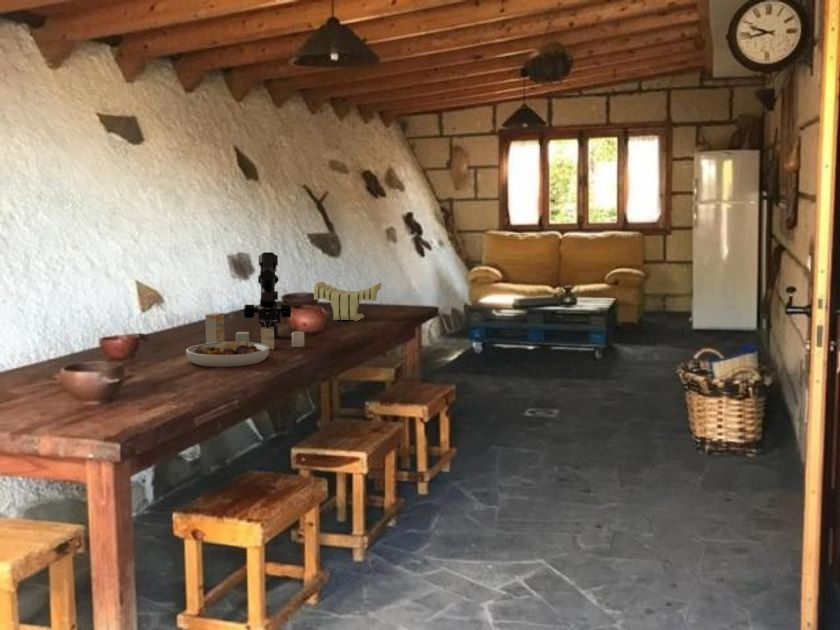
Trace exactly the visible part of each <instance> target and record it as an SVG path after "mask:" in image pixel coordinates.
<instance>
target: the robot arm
mask: <svg viewBox="0 0 840 630" xmlns="http://www.w3.org/2000/svg"><path fill="white" fill-rule="evenodd" d="M278 257H279V256H278V255H277V254H275V253H274V252H272V251H269V252H264V251H263V252H262V253H261V254H260V255H258V266H259V267H260V268H259V269H260V271H259V275H258V277H257V281H258V284H259V285H260V299H259V306H257V308H255V305H254V304H244V306H243V315H244V318H246V319H254V318H255V314H258V324H260V328H261V327H266V328H269V327H274V339H275V338H277V337H279V326H278V324H279V323H281V317H282V318H283V319H284V318H291V317H292V305H291V304H290V303H286V304H285V303H282V304H280V307H279V306H278V304H277V301H278V300H279V291H276V288H275V287H276V284H278V282H279V277H278V275H277V274H276V272H277V266H279V261H278V260H279V258H278ZM259 338H260V339H261V335H260V336H259Z"/></svg>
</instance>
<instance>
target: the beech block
mask: <svg viewBox="0 0 840 630" xmlns="http://www.w3.org/2000/svg"><path fill="white" fill-rule="evenodd" d="M260 336H261V338H260V344H265V345H267V346H269V350H274V349H275V338H274V327H269V328H266V327H261V326H260Z"/></svg>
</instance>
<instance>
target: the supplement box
mask: <svg viewBox="0 0 840 630" xmlns="http://www.w3.org/2000/svg"><path fill="white" fill-rule="evenodd" d="M204 318H205V319H204V320H205V344H207V343H217V342H225V312H213V313H208V314H206V315H205V317H204Z"/></svg>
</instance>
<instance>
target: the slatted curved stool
mask: <svg viewBox="0 0 840 630" xmlns="http://www.w3.org/2000/svg"><path fill="white" fill-rule="evenodd" d="M381 289H382V282H379V283H376V284H375V285H373V286H371V287H368V288H366V289H362V290H356V291H353V290H352V291H351V290H343V289H340V288H339V289H338V288H337V287H334V286H332V285H330V284H327V283H326V282H324V281H319V282H317V283H315V284H314V287H313V300H314V301H315V300H324V299H325V300H326V301H328V302H330V305H331V309H332V312H333V313H332V314H333V317H332V321H337V320H341V321H342V320H350V321H351V320H353V321H352V322H359V321H358V320H360V319H361V318H363V317H365V316H364V314H363V313H358V308H359V305H360V302H362V301H364V300H365V301H366V300H367V301H369V300H370V301H372V302H375V301H377V295H378V292H379V291H380V290H381ZM363 319H364V318H363ZM360 321H361V320H360Z"/></svg>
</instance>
